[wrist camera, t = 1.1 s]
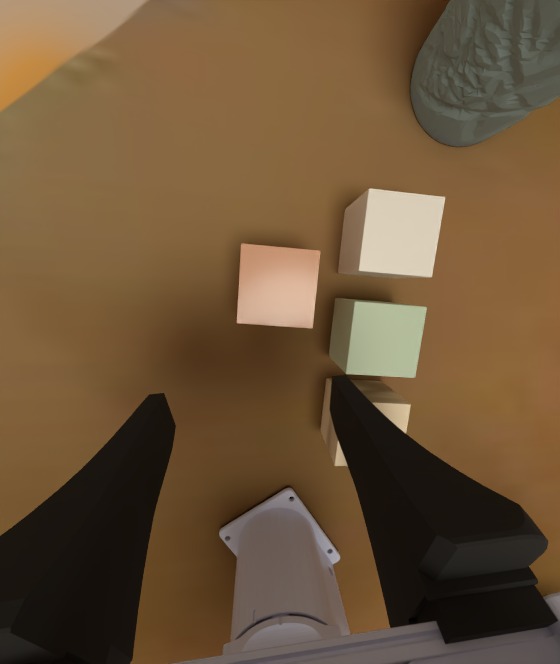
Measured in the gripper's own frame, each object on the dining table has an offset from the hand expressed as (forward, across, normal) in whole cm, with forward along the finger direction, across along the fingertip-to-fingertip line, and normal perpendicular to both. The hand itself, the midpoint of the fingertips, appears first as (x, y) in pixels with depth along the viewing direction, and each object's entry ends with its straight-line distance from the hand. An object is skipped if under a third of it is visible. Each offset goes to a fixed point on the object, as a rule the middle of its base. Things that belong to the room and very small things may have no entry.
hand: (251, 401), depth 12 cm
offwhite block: (+13, -10, -3) cm, 17 cm away
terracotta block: (+12, -2, 0) cm, 13 cm away
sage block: (+11, -9, +4) cm, 15 cm away
